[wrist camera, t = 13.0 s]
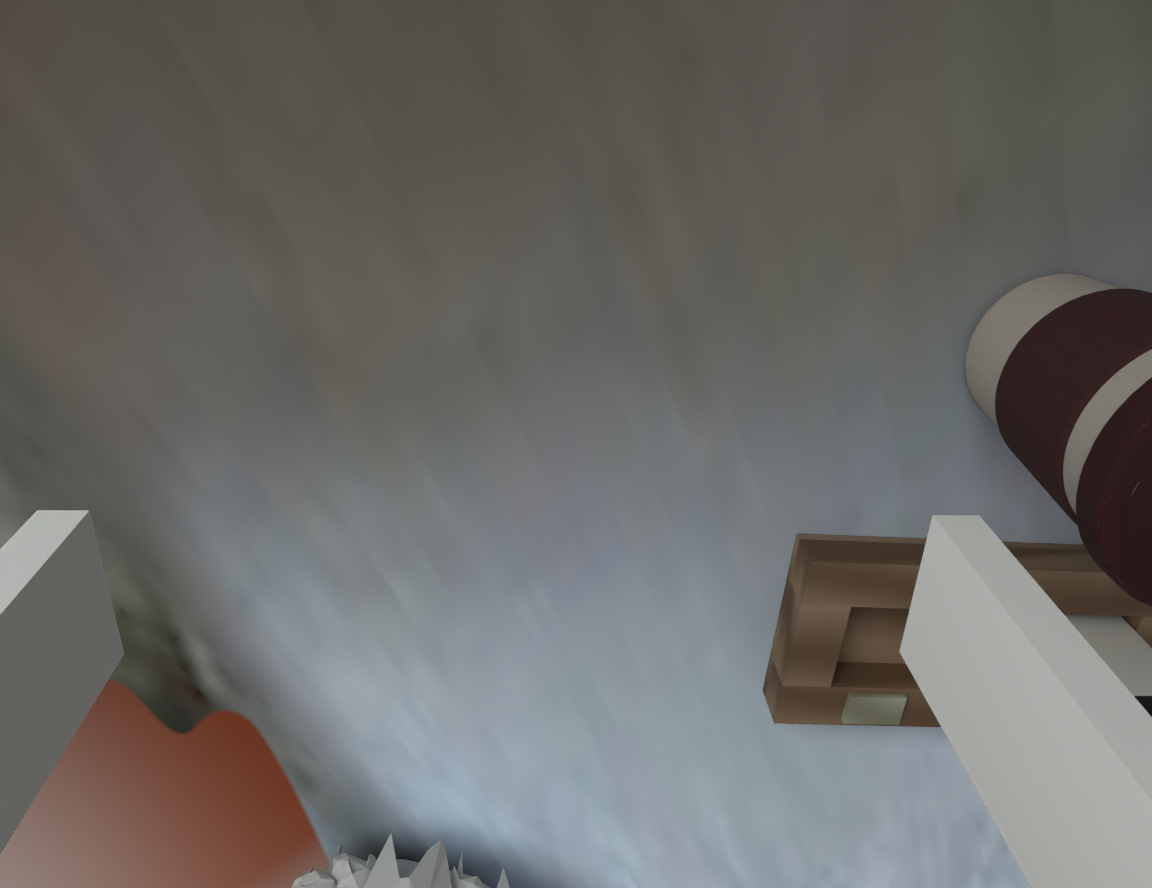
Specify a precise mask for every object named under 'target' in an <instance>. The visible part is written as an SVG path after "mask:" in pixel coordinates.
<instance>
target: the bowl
mask: <svg viewBox="0 0 1152 888" xmlns="http://www.w3.org/2000/svg"><path fill="white" fill-rule="evenodd" d="M341 848H342V845H341V844H340V845H339V846H337V849H336V851H335V853H334V855H333V857H332V859H331V861H330V863H329V865H328V867H327V869H326V871H313V872H312V869H313V868H311V869H310V870H309V871H308V872H307V873H306V874H304V875H303V876H301V877H299V878H298V879H296V880H295V881H294V883H293V886H292V888H491V887H489V886H487V885H486V884H484V883H482V881H481V880H480V879H479V878H478V876H473V877H472V876H470V875H467V874H463V868H462V854H461V857H460V861H459V864H458V867H457V871H456V868H455V866H454V868H453V871H451V870H449V866H448V860H447V854H446V850H445V847H444V844H443V841H442V839H441V840H439V841H438V842H437V843H436V844H435V845H433V846H432V847H431V848H430V849H428V851H427V852H426V853H425V855H424V856H423V858H422V859H421V861H420V862H415V861H410V860H404V859H396V856H395V851H394V845H393V840H392V834H390V836H389V838H388V840H387V842H386V843H385V845H384V847H383V849H382V851H381V853H380V855H379V857H378V859H377V860H376V858H375V856H374V855H371V854H369V857H368V860H366V861H364V860H362V859H360V858H357V857H355V856H353V855H351V854H348V853H346V852H345V853H342V854H340V853H341ZM497 888H510V886H509V883H508V880H507V877H506V874H505V870H504V867H503V870H502V873H501V877H500V880H499V883H498V886H497Z"/></svg>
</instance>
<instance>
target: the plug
mask: <svg viewBox="0 0 1152 888" xmlns="http://www.w3.org/2000/svg"><path fill="white" fill-rule="evenodd" d="M1064 615H1065V616H1066V617H1067V619H1068V620H1069V621H1070V622H1071V623H1072V624H1073V626H1074V627H1075V628H1076V629H1077V630H1078V632H1079V633H1080V634H1081V635H1082V636H1083V637H1084V639H1085V640H1086V641H1087V642H1088V643H1089V644H1090V646H1091V647H1092V648H1093V649H1094V650H1095V651H1096V653H1097V654H1098V655H1099V656H1100V657H1101V658H1102V660H1103V661H1104V662H1105V663H1106V664H1107V665H1108V667H1109V668H1110V669H1111V670H1112V671H1113V672H1114V674H1115V675H1116V676H1117V677H1118V678H1119V679H1120V681H1121V682H1122V683H1123V684H1124V685H1125V686H1126V688H1127V689H1128V690H1129V691H1130V692H1131V693H1132V695H1133V696H1152V648H1151V647H1150V646H1149V645H1148V644H1147V643H1146V642H1145V640H1144V639H1143V638H1142V637H1141V636H1140V635H1139V634H1138V633H1137V632H1136V631H1135V630H1134V629H1133V628H1132V627H1131V626H1130V625H1129V624H1128V623H1127V622H1126V621H1125V620H1124V619H1123V618H1122V617H1121V616H1111V615H1081V614H1064Z"/></svg>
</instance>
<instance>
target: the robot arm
mask: <svg viewBox="0 0 1152 888" xmlns="http://www.w3.org/2000/svg"><path fill="white" fill-rule="evenodd" d="M899 652H900V654H901V656H902V657H903V659H904V661H905V663H906V665H907V666H908V668H909V670H910V672H911V674H912V675H913V677H914V679H915V681H916V682H917V684H918V686H919V688H920V690H921V691H922V693H923V695H924V697H925V699H926V700H927V702H928V704H929V706H930V708H931V709H932V711H933V713H934V715H935V717H936V718H937V720H938V722H939V724H940V726H941V727H942V729H943V731H944V733H945V735H946V736H947V738H948V740H949V742H950V743H951V745H952V747H953V749H954V751H955V752H956V754H957V756H958V758H959V760H960V761H961V763H962V765H963V767H964V769H965V770H966V772H967V774H968V776H969V778H970V779H971V781H972V783H973V785H974V787H975V788H976V790H977V792H978V794H979V796H980V797H981V799H982V801H983V803H984V804H985V806H986V808H987V810H988V812H989V813H990V815H991V817H992V819H993V821H994V822H995V824H996V826H997V828H998V830H999V831H1000V833H1001V835H1002V837H1003V839H1004V840H1005V842H1006V844H1007V846H1008V848H1009V849H1010V851H1011V853H1012V855H1013V857H1014V858H1015V860H1016V862H1017V864H1018V865H1019V867H1020V869H1021V871H1022V873H1023V874H1024V876H1025V878H1026V880H1027V882H1028V883H1029V885H1030V887H1031V888H1152V696H1133V695H1132V693H1131V692H1130V691H1129V690H1128V689H1127V688H1126V686H1125V685H1124V684H1123V683H1122V682H1121V681H1120V679H1119V678H1118V677H1117V676H1116V675H1115V674H1114V672H1113V671H1112V670H1111V669H1110V668H1109V667H1108V665H1107V664H1106V663H1105V662H1104V661H1103V660H1102V658H1101V657H1100V656H1099V655H1098V654H1097V653H1096V651H1095V650H1094V649H1093V648H1092V647H1091V646H1090V644H1089V643H1088V642H1087V641H1086V640H1085V639H1084V637H1083V636H1082V635H1081V634H1080V633H1079V632H1078V630H1077V629H1076V628H1075V627H1074V626H1073V624H1072V623H1071V622H1070V621H1069V620H1068V619H1067V617H1066V616H1065V615H1064V614H1063V613H1062V612H1061V610H1060V609H1059V608H1058V607H1057V606H1056V605H1055V603H1054V602H1053V601H1052V600H1051V599H1050V598H1049V596H1048V595H1047V594H1046V593H1045V592H1044V591H1043V589H1042V588H1041V587H1040V586H1039V585H1038V584H1037V582H1036V581H1035V580H1034V579H1033V578H1032V577H1031V575H1030V574H1029V573H1028V572H1027V571H1026V570H1025V568H1024V567H1023V566H1022V565H1021V564H1020V563H1019V561H1018V560H1017V559H1016V558H1015V557H1014V556H1013V554H1012V553H1011V552H1010V551H1009V550H1008V549H1007V547H1006V546H1005V545H1004V544H1003V543H1002V542H1001V540H1000V539H999V538H998V537H997V536H996V534H995V533H994V532H993V531H992V530H991V529H990V527H989V526H988V525H987V524H986V523H985V522H984V520H983V519H982V518H981V517H980V516H979V515H932V519H931V523H930V528H929V532H928V536H927V540H926V544H925V548H924V552H923V556H922V560H921V564H920V569H919V573H918V577H917V581H916V585H915V589H914V593H913V597H912V601H911V606H910V610H909V614H908V618H907V622H906V626H905V630H904V634H903V638H902V642H901V647H900V651H899ZM123 655H124V652H123V647H122V643H121V639H120V635H119V631H118V627H117V623H116V619H115V615H114V610H113V606H112V602H111V598H110V594H109V590H108V586H107V582H106V577H105V573H104V569H103V565H102V561H101V557H100V553H99V549H98V545H97V540H96V536H95V532H94V528H93V524H92V520H91V516H90V512H89V511H63V510H37V511H36V512H35V513H34V514H33V515H32V517H31V518H30V519H29V520H28V521H27V522H26V523H25V524H24V525H23V526H22V527H21V528H20V529H19V530H18V531H17V532H16V533H15V534H14V535H13V536H12V537H11V538H10V540H9V541H8V542H7V543H6V544H5V545H4V546H3V547H2V548H1V549H0V854H1V852H2V851H3V849H4V847H5V846H6V844H7V842H8V841H9V839H10V837H11V836H12V834H13V833H14V831H15V830H16V828H17V826H18V825H19V823H20V821H21V820H22V818H23V817H24V815H25V813H26V812H27V810H28V808H29V807H30V805H31V804H32V802H33V800H34V799H35V797H36V796H37V794H38V792H39V791H40V789H41V787H42V786H43V784H44V783H45V781H46V779H47V778H48V776H49V774H50V773H51V771H52V770H53V768H54V766H55V765H56V763H57V762H58V760H59V758H60V757H61V755H62V753H63V752H64V750H65V749H66V747H67V745H68V744H69V742H70V741H71V739H72V737H73V736H74V734H75V732H76V731H77V729H78V727H79V726H80V724H81V723H82V721H83V719H84V718H85V716H86V715H87V713H88V711H89V710H90V708H91V707H92V705H93V703H94V702H95V700H96V698H97V697H98V695H99V694H100V692H101V690H102V689H103V687H104V685H105V684H106V682H107V681H108V679H109V677H110V676H111V674H112V673H113V671H114V669H115V668H116V666H117V664H118V663H119V661H120V660H121V658H122V656H123Z"/></svg>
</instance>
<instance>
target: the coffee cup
mask: <svg viewBox="0 0 1152 888" xmlns="http://www.w3.org/2000/svg"><path fill="white" fill-rule="evenodd" d="M965 375H966V380H967V385H968V387H969V390H970V392H971V394H972V397H973V398H974V400H975V402H976V403H977V404H978V406H979V407H980V408H981V409H982V410H983V411H984V413H985V414H986V415H987V416H988V417H989V418H990V419H991V420H992V422H993V423H994V424H995V425H996V426H997V427H998V428H999V430H1000V433H1001V435H1002V437H1003V439H1004V441H1005V443H1006V444H1007V446H1008V447H1009V448H1010V450H1011V451H1012V452H1013V453H1014V454H1015V455H1016V457H1017V458H1018V459H1019V460H1020V461H1021V462H1022V463H1023V465H1024V466H1025V467H1026V468H1027V469H1028V470H1029V471H1030V473H1031V474H1032V475H1033V476H1034V477H1035V478H1036V479H1037V481H1038V482H1039V483H1040V484H1041V485H1042V486H1043V487H1044V489H1045V490H1046V491H1047V492H1048V493H1049V494H1050V495H1051V497H1052V498H1053V499H1054V500H1055V501H1056V502H1057V503H1058V505H1059V506H1060V507H1061V508H1062V509H1063V510H1064V512H1065V513H1066V514H1067V515H1068V516H1069V517H1070V518H1071V520H1072V521H1074V522H1075V523H1076V524H1077V525H1078V529H1079V532H1080V536H1081V539H1082V541H1083V543H1084V545H1085V547H1086V549H1087V551H1088V553H1089V554H1090V556H1091V557H1092V559H1093V560H1094V561H1095V563H1096V564H1097V565H1098V566H1099V567H1100V568H1101V569H1102V570H1103V571H1104V572H1105V573H1106V574H1107V575H1108V576H1109V577H1110V578H1111V579H1112V580H1113V581H1114V582H1115V583H1116V584H1117V585H1118V586H1119V587H1120V588H1121V589H1123V590H1124V591H1125V592H1126V593H1127V594H1128V595H1130V596H1131V597H1133V598H1134V599H1136V600H1137V601H1140V602H1142V603H1144V604H1146V605H1149V606H1151V607H1152V293H1149V292H1145V291H1141V290H1135V289H1121V288H1118V287H1116V286H1113V285H1110V284H1107V283H1104V282H1102V281H1099V280H1096V279H1093V278H1090V277H1087V276H1083V275H1077V274H1053V275H1048V276H1043V277H1039V278H1036V279H1033V280H1030V281H1028V282H1026V283H1023V284H1021V285H1019V286H1018V287H1016V288H1014V289H1013V290H1011V291H1010V292H1008V293H1006V294H1005V295H1004V296H1003V297H1001V298H1000V299H999V300H998V301H997V302H996V303H994V304H993V306H992V307H991V308H990V309H989V310H988V311H987V312H986V313H985V315H984V316H983V317H982V319H981V320H980V322H979V323H978V325H977V326H976V328H975V330H974V332H973V334H972V337H971V339H970V342H969V345H968V349H967V353H966V359H965Z"/></svg>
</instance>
